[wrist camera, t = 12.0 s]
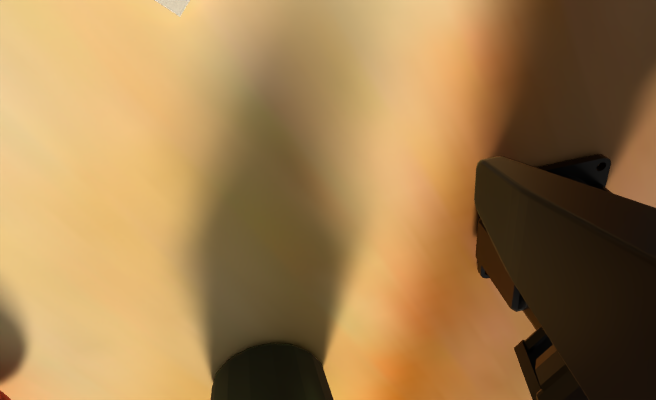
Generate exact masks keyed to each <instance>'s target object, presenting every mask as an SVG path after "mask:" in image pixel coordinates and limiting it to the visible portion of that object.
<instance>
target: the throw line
mask: <svg viewBox="0 0 656 400" xmlns="http://www.w3.org/2000/svg"><path fill="white" fill-rule="evenodd" d="M155 1H157V2H158V3H160V4H161V5H163V6H164V7H166V8H167V9H169V10H170V11H172V12H173V13H175V14H176V15H178V16H179V17H180V16H181V14H182V13H183V11H184V9H185V8H186V6H187V4H188V3H189V1H190V0H155Z"/></svg>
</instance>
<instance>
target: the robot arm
mask: <svg viewBox="0 0 656 400" xmlns="http://www.w3.org/2000/svg"><path fill="white" fill-rule="evenodd" d="M599 164H600V165H599ZM610 165H611V161H610V159H608V158H607V157H606V156H604V155H602V154H597V155H593V156H588V157H583V158H578V159H574V160H569V161H564V162H560V163H555V164H550V165H546V166H541V167H533V166H530V165H527V164H524V163H521V162H518V161H515V160H512V159H509V158H506V157H503V156H496V157H492V158H487V159H483V160H480V161H479V162H478V164H477V167H476V180H475V196H474V200H475V206H476V209H477V211H478V214H479V216H480V219H479V221H478V230H477V244H476V258H477V260H478V268H477V269H478V272H479V273H480V275H481V276H482V277H483V278H490V279H491V280H492V282H493V283H494V285H495V286H496V288H497V289H498V291H499V292H500V294H501V295H502V297H503V298H504V300H505V301H506V303H507V304H508V305H509V307H510V308H511V309H512V310H514V311H516V312H517V311H521V310H523V312H524V313H525V315H526V316H527V318H528V319H529V320H530V322H531V323H532V325H533V326H534V328H535V329H536V331H535V332H534V333H533V334H532V335H531V336H529V337H528V338H527V339H526V340H522V341H521V342H520V343H519V344H518V345H517V346H516V347H515V348H514V350H515V352H516V355H517V358H518V361H519V363H520V366H521V369H522V372H523V375H524V377H525V380H526V383H527V385H528V388H529V391H530V394H531V396H532V399H533V400H656V208H654V207H651V206H648V205H645V204H642V203H639V202H636V201H633V200H630V199H627V198H625V197H622V196H619V195H616V194H613V193H611V192H610V191H609V190H608V189H607V188H605V186H606V182H607V178H608V174H609V169H610Z"/></svg>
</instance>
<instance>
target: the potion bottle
mask: <svg viewBox="0 0 656 400" xmlns="http://www.w3.org/2000/svg"><path fill="white" fill-rule="evenodd" d="M211 400H333V397H332V394H331V391H330V388H329V385H328V382H327V379H326V376H325V373H324V370H323V367H322V364H321V363H320V362H319V361H318V360H317V358H316V357H315V356H314V355H313V354H312V353H311V352H309V351H306V350H304V349H301V348H299V347H296V346H294V345H291V344H274V343H270V344H265V345H260V346H256V347H251V348H248V349H247V350H245V351H243V352H241V353H239V354H237V355H235V356H233V357H232V358H231V359H229V360H228V361H227V362H226V364H225V365H224V366H223V367H222V368H221V369H220V370H219V371H218V372H217V373H216V375H215V379H214V383H213V386H212V393H211Z"/></svg>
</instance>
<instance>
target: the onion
mask: <svg viewBox="0 0 656 400" xmlns="http://www.w3.org/2000/svg"><path fill="white" fill-rule="evenodd" d="M0 400H11V399H10V398H9V397H8V396H7V395H5V394H4V393H3V392H1V391H0Z"/></svg>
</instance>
